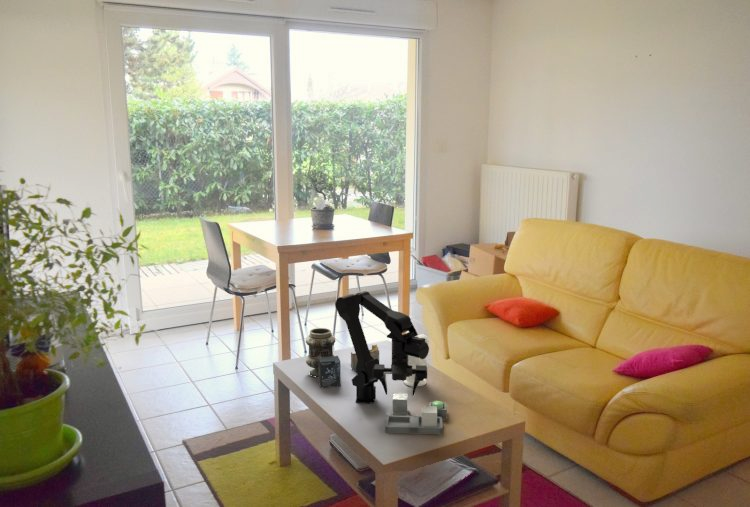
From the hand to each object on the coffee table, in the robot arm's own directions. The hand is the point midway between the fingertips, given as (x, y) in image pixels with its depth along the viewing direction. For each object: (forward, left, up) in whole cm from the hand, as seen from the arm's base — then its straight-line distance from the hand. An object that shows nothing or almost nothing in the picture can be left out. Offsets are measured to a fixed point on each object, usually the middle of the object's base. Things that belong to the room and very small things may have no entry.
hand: (399, 394), depth 227 cm
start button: (+13, -2, -6) cm, 14 cm away
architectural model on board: (-16, +41, -7) cm, 45 cm away
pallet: (+5, -11, -7) cm, 14 cm away
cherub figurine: (+3, +26, -7) cm, 27 cm away
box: (-28, +23, -7) cm, 37 cm away
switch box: (+13, -2, -7) cm, 15 cm away
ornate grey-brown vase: (-33, +34, -7) cm, 48 cm away
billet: (0, 0, -7) cm, 7 cm away
